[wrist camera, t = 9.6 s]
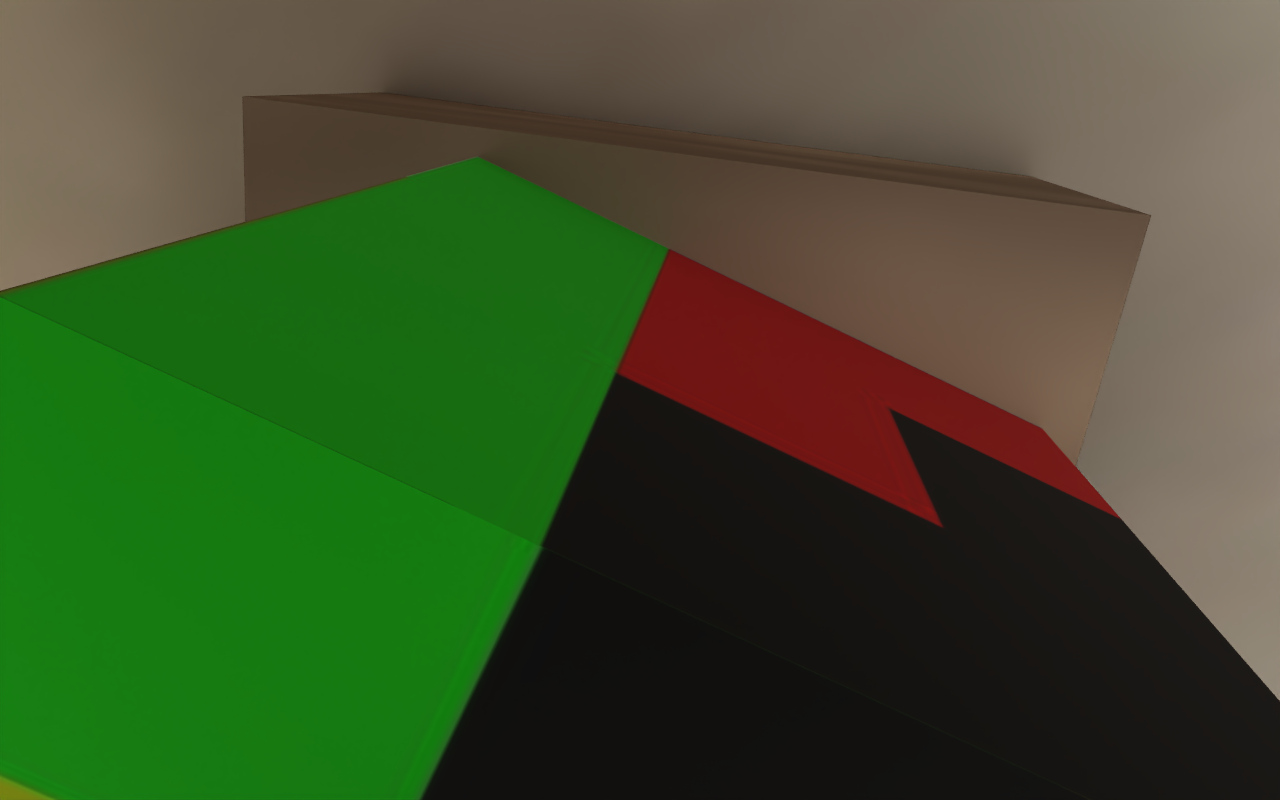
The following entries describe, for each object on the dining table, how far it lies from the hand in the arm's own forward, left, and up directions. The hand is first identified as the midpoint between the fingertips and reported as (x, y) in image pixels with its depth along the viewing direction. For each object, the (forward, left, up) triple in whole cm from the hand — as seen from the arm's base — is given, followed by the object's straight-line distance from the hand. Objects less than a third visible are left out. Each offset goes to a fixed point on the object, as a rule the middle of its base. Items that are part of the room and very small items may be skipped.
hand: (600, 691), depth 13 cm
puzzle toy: (0, 0, -4) cm, 4 cm away
